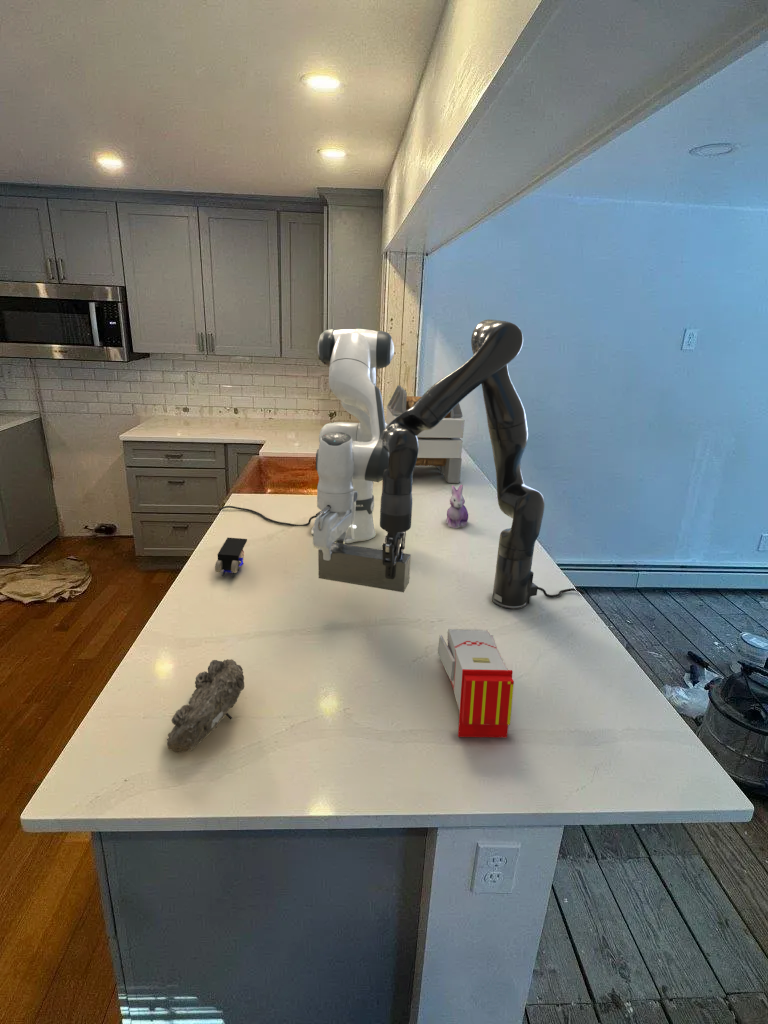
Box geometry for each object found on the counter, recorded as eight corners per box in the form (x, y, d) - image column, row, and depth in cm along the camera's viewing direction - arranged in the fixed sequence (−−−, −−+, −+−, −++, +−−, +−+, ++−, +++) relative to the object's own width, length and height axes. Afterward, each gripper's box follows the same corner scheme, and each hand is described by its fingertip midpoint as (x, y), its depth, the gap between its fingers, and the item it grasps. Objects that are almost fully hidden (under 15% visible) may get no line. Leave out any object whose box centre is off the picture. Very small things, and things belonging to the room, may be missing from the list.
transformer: (382, 463, 289) (386, 382, 275) (445, 464, 293) (451, 384, 279) (390, 482, 257) (394, 392, 243) (460, 483, 261) (468, 394, 247)
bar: (318, 578, 144) (318, 549, 141) (326, 569, 149) (326, 541, 146) (403, 592, 138) (405, 562, 136) (409, 582, 143) (410, 554, 140)
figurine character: (238, 584, 162) (249, 557, 175) (236, 562, 158) (247, 536, 172) (215, 584, 161) (227, 556, 175) (212, 561, 158) (225, 535, 171)
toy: (488, 613, 130) (523, 677, 101) (484, 667, 133) (517, 744, 104) (435, 612, 130) (455, 676, 101) (432, 666, 133) (451, 743, 103)
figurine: (453, 530, 205) (457, 490, 200) (438, 521, 213) (441, 482, 208) (475, 527, 209) (479, 488, 204) (459, 517, 217) (462, 480, 212)
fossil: (192, 660, 117) (244, 628, 112) (224, 691, 120) (276, 661, 115) (142, 746, 98) (202, 712, 93) (182, 779, 101) (242, 748, 96)
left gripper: (332, 514, 128) (331, 570, 133) (360, 490, 147) (358, 539, 151) (306, 511, 130) (306, 566, 134) (337, 487, 148) (336, 536, 153)
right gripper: (404, 521, 127) (400, 588, 133) (418, 501, 140) (414, 563, 146) (372, 516, 129) (370, 583, 135) (389, 498, 142) (386, 559, 148)
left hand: (334, 552), depth 143 cm, fingers open, 8 cm apart
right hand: (393, 572), depth 140 cm, fingers closed on bar, 5 cm apart
